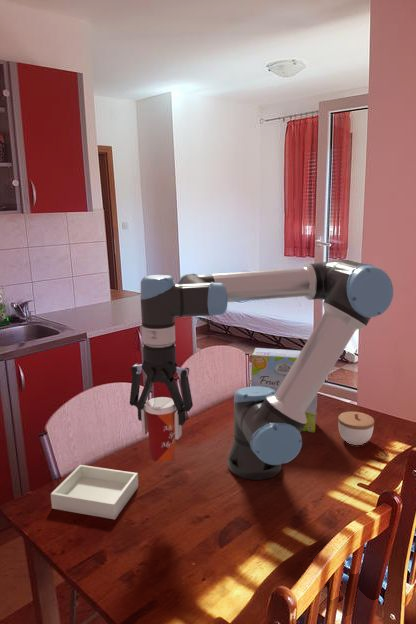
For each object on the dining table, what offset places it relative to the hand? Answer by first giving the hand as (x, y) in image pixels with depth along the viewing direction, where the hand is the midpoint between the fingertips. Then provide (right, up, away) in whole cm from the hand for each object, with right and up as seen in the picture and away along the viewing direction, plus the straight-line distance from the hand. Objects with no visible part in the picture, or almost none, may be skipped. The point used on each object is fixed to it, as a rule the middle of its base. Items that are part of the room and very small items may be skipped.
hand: (161, 434), depth 115 cm
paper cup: (0, -6, +1) cm, 6 cm away
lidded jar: (+57, -11, +36) cm, 68 cm away
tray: (-17, -18, +8) cm, 26 cm away
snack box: (+37, -9, +47) cm, 60 cm away
